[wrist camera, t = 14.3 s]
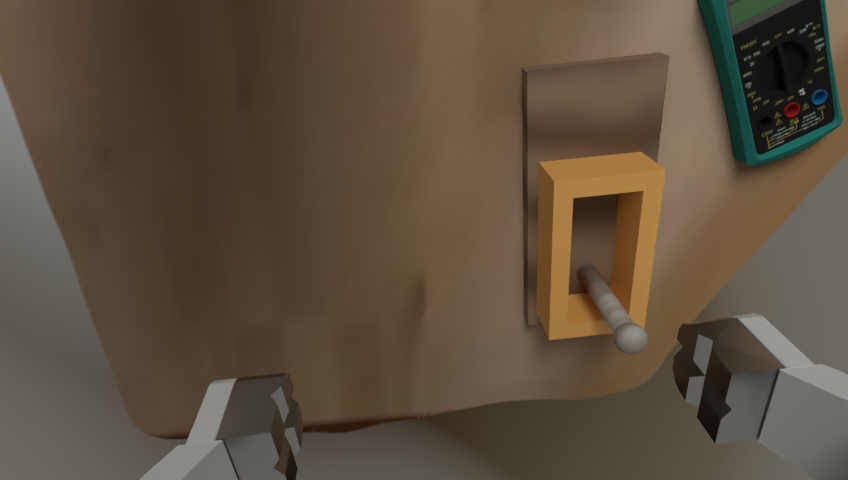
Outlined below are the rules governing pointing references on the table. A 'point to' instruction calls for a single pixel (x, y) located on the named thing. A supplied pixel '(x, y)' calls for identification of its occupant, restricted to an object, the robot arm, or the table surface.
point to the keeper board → (587, 137)
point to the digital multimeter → (773, 74)
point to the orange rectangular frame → (632, 243)
